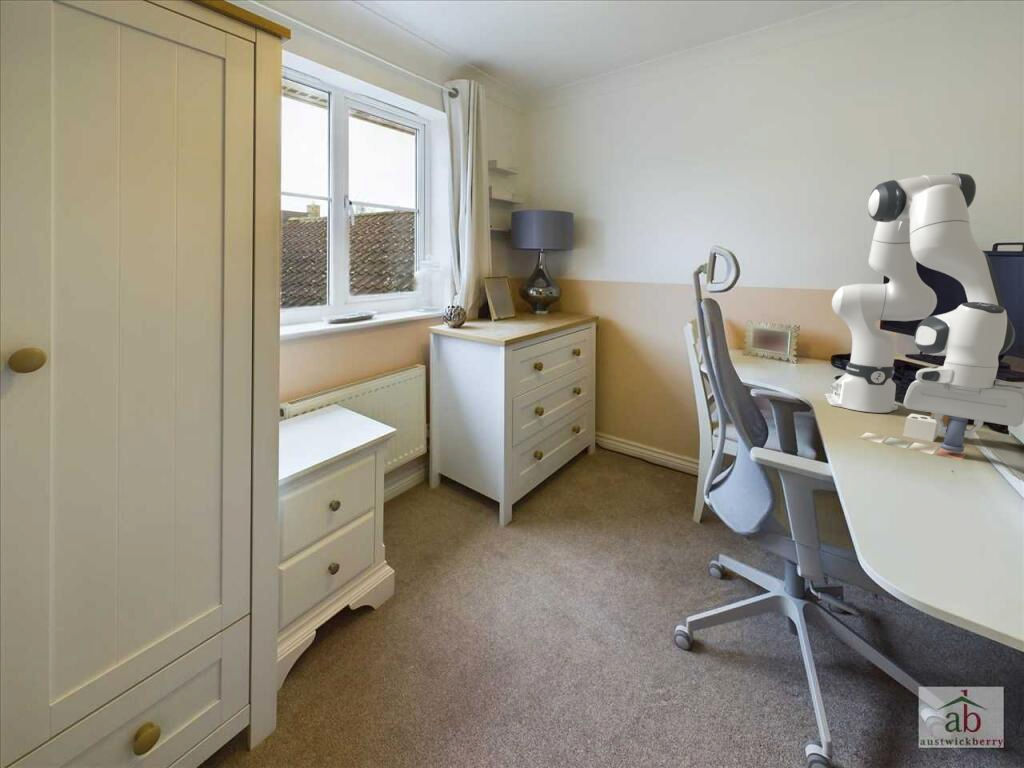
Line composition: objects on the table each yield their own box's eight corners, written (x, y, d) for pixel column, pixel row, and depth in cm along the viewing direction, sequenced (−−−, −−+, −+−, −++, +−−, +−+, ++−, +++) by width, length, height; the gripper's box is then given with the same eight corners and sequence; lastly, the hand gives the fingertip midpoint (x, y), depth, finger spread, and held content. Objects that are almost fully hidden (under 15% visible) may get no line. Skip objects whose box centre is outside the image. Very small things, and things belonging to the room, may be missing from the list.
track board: (852, 442, 124) (853, 437, 123) (861, 435, 129) (862, 431, 129) (966, 467, 108) (967, 462, 108) (971, 458, 113) (973, 453, 113)
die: (901, 439, 126) (906, 417, 124) (907, 435, 130) (911, 413, 128) (931, 446, 121) (936, 422, 120) (936, 440, 125) (941, 418, 124)
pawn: (936, 445, 115) (944, 407, 113) (956, 446, 114) (965, 408, 112) (946, 451, 111) (955, 411, 109) (967, 452, 110) (976, 413, 108)
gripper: (1036, 382, 103) (1020, 444, 106) (914, 368, 118) (903, 422, 121) (1034, 386, 99) (1017, 450, 102) (908, 371, 114) (897, 427, 117)
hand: (954, 435), depth 112 cm, fingers closed on pawn, 3 cm apart
